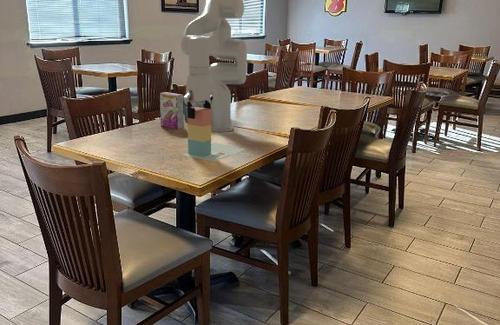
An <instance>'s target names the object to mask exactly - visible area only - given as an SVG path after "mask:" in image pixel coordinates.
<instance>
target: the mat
mask: <svg viewBox="0 0 500 325" xmlns="http://www.w3.org/2000/svg"><path fill="white" fill-rule="evenodd" d="M245 150H247V148H243V147H239V146H233V145H228V144H223V143H218V142H213V143H211V154H212V153H215V152H221V153H225V154H229V155H228V156H225V157H223V158H216V157H211V156H205V157H201V156H196V155H192V154H188V152H186V153H183V154H181V156H186V157H188V158H189V157H190V158H195V159H197V160H198V159H199V160H203V161H208V162H211V163H217V162H219V161H221V160H223V159H226V158H228V157H231V156H233V155H236V154H238V153H241V152H242V151H243V152H244V151H245Z"/></svg>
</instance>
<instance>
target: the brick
mask: <svg viewBox="0 0 500 325" xmlns="http://www.w3.org/2000/svg"><path fill="white" fill-rule="evenodd" d="M194 108H195V119H191V118H188V122H187V125H188V124H191V125H196V126H201V127H204V126H208V125H211V109H207V108H200V107H194Z"/></svg>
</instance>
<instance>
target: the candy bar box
mask: <svg viewBox="0 0 500 325" xmlns="http://www.w3.org/2000/svg"><path fill="white" fill-rule="evenodd" d="M183 97H184V94H180V93H173V92H167V91H164V92H160V93H159V109H160V115H159V116H160V127H163V128H168V129H174V130H181V129H184V128H185V120H184V99H183Z"/></svg>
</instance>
